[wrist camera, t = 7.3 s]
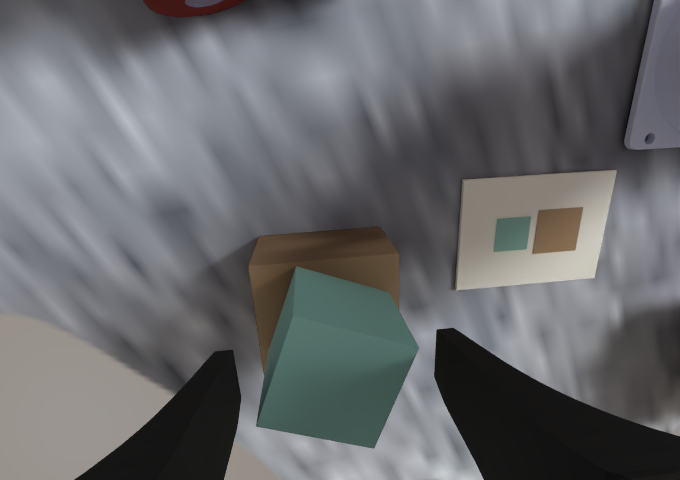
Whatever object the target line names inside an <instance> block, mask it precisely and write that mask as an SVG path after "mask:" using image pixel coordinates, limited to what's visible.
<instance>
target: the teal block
mask: <svg viewBox="0 0 680 480" xmlns="http://www.w3.org/2000/svg"><path fill="white" fill-rule="evenodd" d="M418 349H419V347H418V345H417V343H416V341H415V339H414V338H413V336H412V334H411V332H410V330H409V328H408V326H407V325H406V323H405V321H404V319H403V317H402V315H401V314H400V312H399V310H398V308H397V306H396V304H395V302H394V301H393V299H392V297H391V295H390V293H389V292H387V291H383V290H380V289H376V288H373V287H369V286H365V285H362V284H358V283H355V282H351V281H347V280H344V279H340V278H337V277H333V276H330V275H326V274H322V273H319V272H315V271H312V270H308V269H304V268H301V267H297V266H296V268H295V271H294V274H293V277H292V280H291V283H290V286H289V289H288V292H287V295H286V298H285V302H284V305H283V308H282V311H281V314H280V317H279V320H278V323H277V326H276V329H275V332H274V335H273V339H272V342H271V345H270V348H269V351H268V357H267V363H266V369H265V375H264V381H263V387H262V393H261V400H260V406H259V412H258V418H257V424H256V426H257V427H262V428H268V429H273V430H278V431H283V432H289V433H294V434H299V435H305V436H310V437H315V438H321V439H326V440H331V441H337V442H342V443H347V444H353V445H358V446H363V447H369V448H375V445H376V443H377V441H378V439H379V436H380V434H381V432H382V430H383V427H384V425H385V423H386V421H387V419H388V416H389V414H390V412H391V410H392V407H393V405H394V403H395V401H396V398H397V396H398V394H399V392H400V389H401V387H402V385H403V383H404V381H405V378H406V376H407V374H408V372H409V369H410V367H411V365H412V363H413V360H414V358H415V356H416V354H417V351H418Z"/></svg>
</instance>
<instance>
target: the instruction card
mask: <svg viewBox="0 0 680 480" xmlns="http://www.w3.org/2000/svg"><path fill="white" fill-rule="evenodd" d="M616 173H617V170H601V171H585V172H570V173H554V174H539V175H523V176H508V177H493V178H477V179H462V193H461V208H460V222H459V237H458V252H457V266H456V281H455V289H456V290H467V289H478V288H489V287H500V286H511V285H522V284H533V283H544V282H555V281H566V280H577V279H588V278H594V277H595V272H596V267H597V262H598V258H599V253H600V248H601V244H602V239H603V234H604V229H605V225H606V220H607V215H608V211H609V206H610V201H611V196H612V192H613V187H614V182H615V178H616Z"/></svg>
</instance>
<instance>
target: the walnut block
mask: <svg viewBox="0 0 680 480" xmlns="http://www.w3.org/2000/svg"><path fill="white" fill-rule="evenodd" d="M296 266H297V267H301V268H304V269H308V270H312V271H315V272H319V273H322V274H326V275H330V276H333V277H337V278H340V279H344V280H347V281H351V282H355V283H358V284H362V285H365V286H369V287H373V288H376V289H380V290H383V291H387V292H389V293H390V295H391V297H392V299H393V301H394V302H395V304H396V306H397V308H398V310H399V252H398V251H397V249H396V248H395V247H394V245H393V244H392V243H391V241H390V240H389V239H388V237H387V236H386V234H385V233H384V232H383V230H382V229H381V228H380V227H370V228H357V229H344V230H331V231H318V232H305V233H292V234H279V235H266V236H259V239H258V241H257V244H256V247H255V249H254V252H253V255H252V257H251V260H250V263H249V265H248V268H249V275H250V282H251V289H252V296H253V303H254V309H255V316H256V323H257V330H258V337H259V344H260V351H261V357H262V364H263V371H264V375H265V369H266V363H267V357H268V351H269V348H270V345H271V342H272V339H273V335H274V332H275V329H276V326H277V323H278V320H279V317H280V314H281V311H282V308H283V305H284V302H285V298H286V295H287V292H288V289H289V286H290V283H291V280H292V277H293V274H294V271H295V268H296Z"/></svg>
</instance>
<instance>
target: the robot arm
mask: <svg viewBox="0 0 680 480" xmlns="http://www.w3.org/2000/svg"><path fill="white" fill-rule="evenodd" d="M646 136H648V138H647V140H646V141H645V138H646ZM624 144H625V146H626V147H627V148H628V149H633V150H643V149H659V148H676V147H680V0H654V3H653V8H652V13H651V17H650V22H649V27H648V31H647V36H646V41H645V46H644V50H643V55H642V60H641V64H640V69H639V74H638V78H637V83H636V88H635V92H634V97H633V102H632V107H631V111H630V116H629V121H628V125H627V130H626V135H625V139H624ZM434 377H435V380H436V382H437V385H438V388H439V391H440V393H441V396H442V398H443V401H444V403H445V405H446V407H447V409H448V411H449V413H450V415H451V417H452V419H453V421H454V423H455V424H456V426H457V428H458V430H459V432H460V434H461V436H462V438H463V440H464V441H465V443H466V445H467V447H468V449H469V451H470V453H471V455H472V457H473V458H474V460H475V462H476V464H477V466H478V468H479V470H480V472H481V474H482V477H483V479H484V480H680V436H676V435H673V434H669V433H666V432H663V431H659V430H656V429H652V428H649V427H646V426H643V425H640V424H637V423H634V422H632V421H629V420H626V419H623V418H620V417H617V416H615V415H612V414H609V413H607V412H604V411H602V410H599V409H597V408H594V407H592V406H590V405H587V404H585V403H582V402H580V401H578V400H575V399H573V398H571V397H569V396H567V395H564V394H562V393H560V392H558V391H556V390H554V389H552V388H550V387H548V386H546V385H544V384H542V383H540V382H538V381H537V380H535V379H533V378H531V377H529V376H528V375H526V374H524V373H522V372H521V371H519V370H517V369H516V368H514V367H512V366H511V365H509V364H507V363H506V362H504V361H503V360H501V359H499V358H498V357H496V356H495V355H493V354H492V353H490V352H489V351H487V350H486V349H484V348H483V347H481V346H480V345H478V344H477V343H475V342H474V341H472V340H471V339H469V338H468V337H466V336H465V335H464V334H462V333H461V332H459V331H457V330H456V329H454V328H448V329H438V330H437V334H436V353H435V372H434ZM240 403H241V394H240V388H239V382H238V377H237V371H236V365H235V359H234V354H233V350H226V351H216V352H214V353H213V354H212V355H211V356H210V357H209V359H208V360H207V361H206V362H205V363H204V364H203V365H202V366H201V368H200V369H199V370H198V371H197V372H196V373H195V374H194V375H193V377H192V378H191V379H190V380H189V381H188V382H187V383H186V384H185V385H184V386H183V387H182V389H181V390H180V391H179V392H178V393H177V394H176V395H175V396H174V397H173V398H172V399H171V400H170V401H169V402H168V403H167V404H166V405H165V406H164V407H163V408H162V409H161V410H160V411H159V412H158V413H157V414H156V415H155V416H154V417H153V418H152V419H151V420H150V421H149V422H147V424H146V425H144V426H143V427H142V428H141V429H140V430H139V431H137V432H136V433H135V434H134V435H133V436H131V437H130V438H129V439H128V440H127V441H125V442H124V443H123V444H122V445H121V446H119V447H118V448H117V449H115V450H114V451H113V452H111V453H110V454H109V455H108V456H106V457H105V458H104V459H102V460H101V461H100V462H98V463H97V464H96V465H94V466H93V467H92V468H90V469H89V470H88V471H86V472H85V473H83V474H82V475H81V476H79V477H78V478H76V479H75V480H224V477H225V473H226V469H227V465H228V461H229V457H230V454H231V450H232V446H233V442H234V438H235V434H236V430H237V425H238V418H239V411H240Z"/></svg>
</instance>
